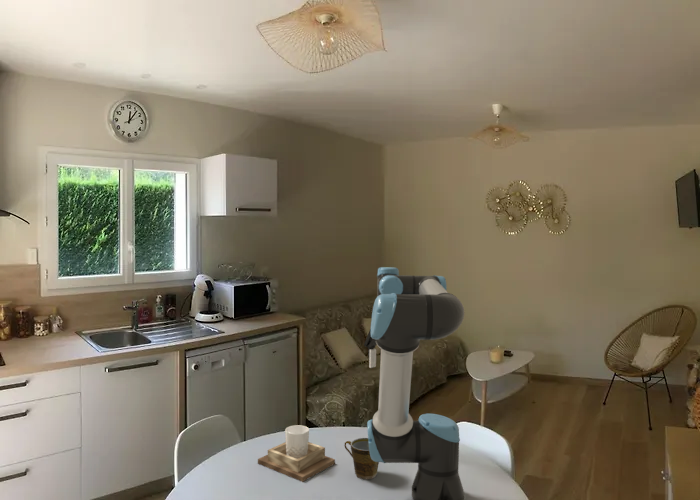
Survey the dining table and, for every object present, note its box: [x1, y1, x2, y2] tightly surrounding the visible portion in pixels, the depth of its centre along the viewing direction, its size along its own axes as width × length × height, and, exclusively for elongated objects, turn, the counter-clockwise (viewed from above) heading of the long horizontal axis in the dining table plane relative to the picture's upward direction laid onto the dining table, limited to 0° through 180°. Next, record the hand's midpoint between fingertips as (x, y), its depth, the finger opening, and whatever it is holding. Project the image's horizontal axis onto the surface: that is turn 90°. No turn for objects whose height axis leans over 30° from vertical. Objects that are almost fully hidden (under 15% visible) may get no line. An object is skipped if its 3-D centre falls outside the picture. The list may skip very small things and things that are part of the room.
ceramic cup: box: [343, 437, 380, 480], centre depth 166 cm, size 13×10×10 cm
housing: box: [257, 441, 336, 483], centre depth 172 cm, size 20×16×5 cm
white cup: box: [284, 424, 310, 459], centre depth 172 cm, size 8×8×10 cm
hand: (386, 370), depth 183 cm, fingers open, 13 cm apart
